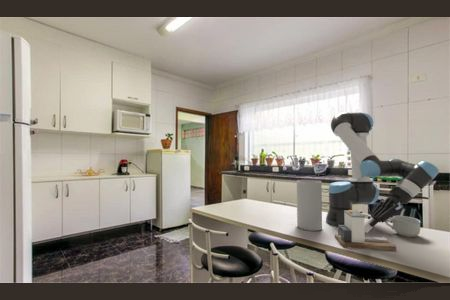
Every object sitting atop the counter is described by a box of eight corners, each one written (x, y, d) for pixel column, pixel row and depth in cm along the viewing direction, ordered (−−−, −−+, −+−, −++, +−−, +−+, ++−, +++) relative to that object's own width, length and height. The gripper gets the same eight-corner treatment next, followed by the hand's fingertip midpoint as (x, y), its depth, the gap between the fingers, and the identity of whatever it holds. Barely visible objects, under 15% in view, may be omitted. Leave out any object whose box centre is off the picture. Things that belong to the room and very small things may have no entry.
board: (334, 237, 106) (334, 233, 106) (381, 239, 103) (381, 236, 103) (343, 247, 94) (343, 243, 95) (396, 250, 91) (396, 246, 91)
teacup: (421, 234, 109) (420, 218, 110) (420, 240, 101) (420, 223, 102) (386, 228, 119) (386, 213, 119) (383, 233, 111) (383, 217, 111)
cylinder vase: (300, 222, 129) (299, 179, 130) (323, 226, 123) (322, 180, 124) (294, 228, 119) (294, 181, 119) (320, 232, 112) (319, 182, 113)
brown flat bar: (338, 237, 102) (338, 235, 102) (385, 240, 98) (384, 237, 98) (340, 239, 99) (340, 237, 99) (388, 242, 95) (388, 240, 96)
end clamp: (338, 235, 104) (337, 224, 104) (345, 235, 104) (344, 225, 104) (344, 241, 96) (343, 230, 96) (351, 242, 96) (351, 230, 96)
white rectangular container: (344, 234, 104) (343, 208, 105) (356, 235, 103) (356, 208, 104) (351, 242, 95) (351, 213, 96) (365, 243, 94) (364, 213, 95)
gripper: (421, 200, 89) (378, 241, 91) (401, 195, 102) (364, 231, 104) (406, 187, 90) (363, 228, 92) (388, 184, 103) (351, 219, 105)
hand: (363, 230), depth 98 cm, fingers closed
